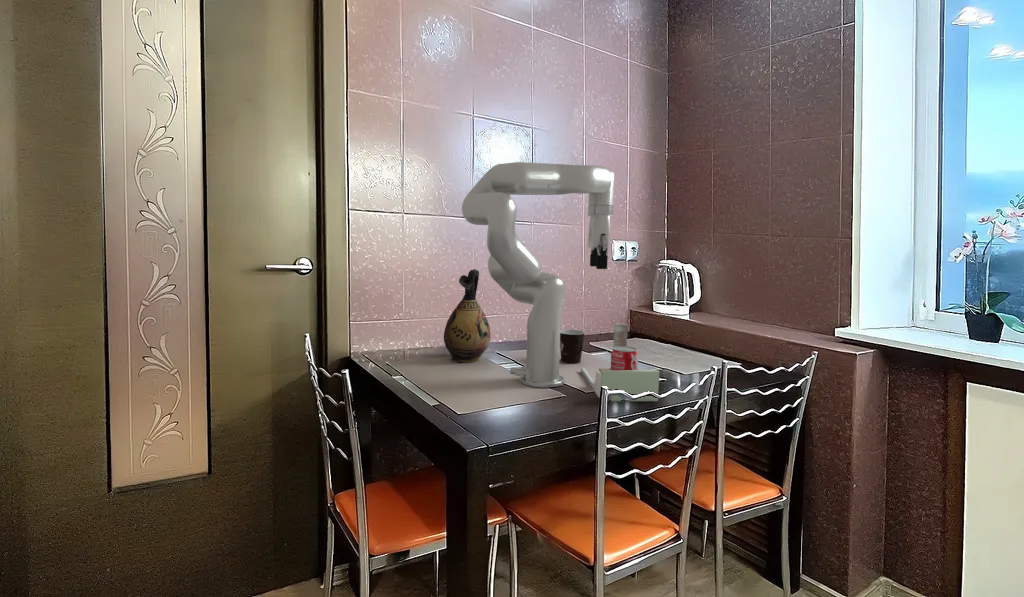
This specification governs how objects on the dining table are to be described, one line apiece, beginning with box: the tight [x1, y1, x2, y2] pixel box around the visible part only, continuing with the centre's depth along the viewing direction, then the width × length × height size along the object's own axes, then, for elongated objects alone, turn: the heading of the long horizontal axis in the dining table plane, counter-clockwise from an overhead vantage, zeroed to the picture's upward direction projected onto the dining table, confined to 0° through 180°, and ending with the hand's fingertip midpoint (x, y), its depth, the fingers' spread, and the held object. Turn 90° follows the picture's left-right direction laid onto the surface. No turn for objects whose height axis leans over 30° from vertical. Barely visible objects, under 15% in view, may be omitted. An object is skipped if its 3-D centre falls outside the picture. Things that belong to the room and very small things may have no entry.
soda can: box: [610, 345, 639, 370], centre depth 152 cm, size 7×7×13 cm
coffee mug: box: [560, 329, 586, 365], centre depth 187 cm, size 12×9×10 cm
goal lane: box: [580, 367, 660, 402], centre depth 162 cm, size 15×29×8 cm, turn 3°
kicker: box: [598, 322, 629, 373], centre depth 158 cm, size 11×6×18 cm, turn 93°
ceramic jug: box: [443, 269, 492, 364], centre depth 188 cm, size 17×15×30 cm
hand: (598, 267), depth 175 cm, fingers open, 9 cm apart
